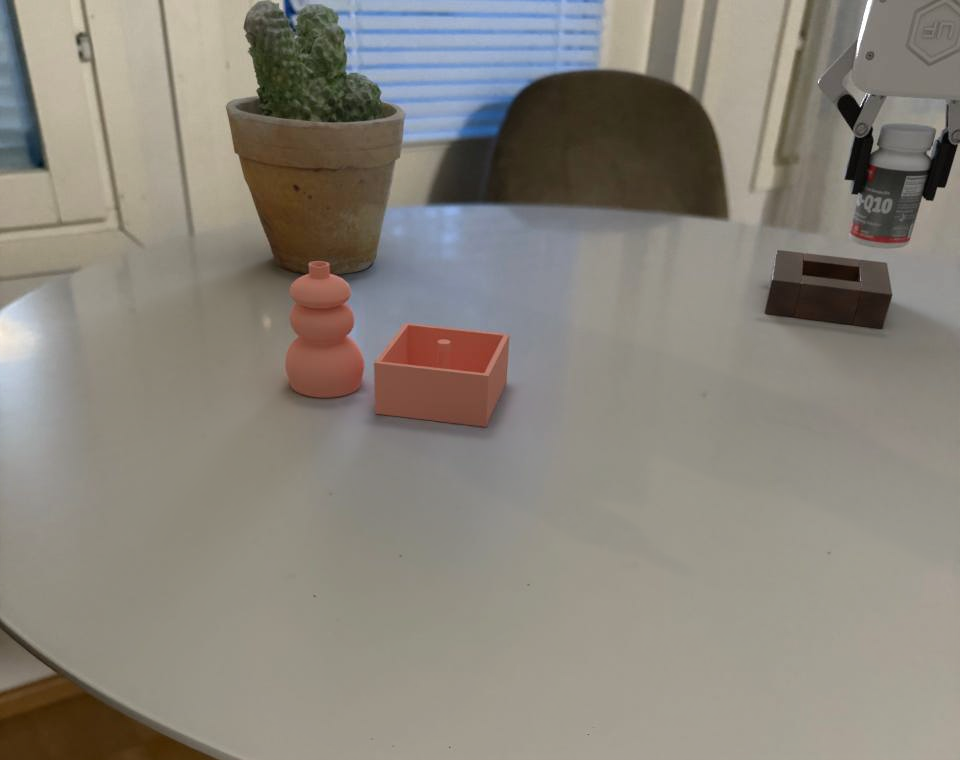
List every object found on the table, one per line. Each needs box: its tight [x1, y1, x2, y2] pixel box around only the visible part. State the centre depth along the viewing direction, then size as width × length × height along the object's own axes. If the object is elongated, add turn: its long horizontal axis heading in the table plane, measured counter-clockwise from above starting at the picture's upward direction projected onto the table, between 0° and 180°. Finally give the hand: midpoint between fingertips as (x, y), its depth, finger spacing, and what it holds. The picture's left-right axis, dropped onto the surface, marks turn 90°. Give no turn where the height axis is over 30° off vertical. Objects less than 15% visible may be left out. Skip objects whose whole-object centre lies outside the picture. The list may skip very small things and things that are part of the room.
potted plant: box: [225, 0, 407, 276], centre depth 101 cm, size 18×19×25 cm
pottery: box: [284, 261, 510, 428], centre depth 77 cm, size 18×10×10 cm, turn 79°
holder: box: [764, 249, 893, 329], centre depth 103 cm, size 12×12×4 cm
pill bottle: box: [848, 122, 937, 249], centre depth 75 cm, size 5×5×8 cm
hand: (891, 191), depth 76 cm, fingers closed on pill bottle, 4 cm apart
